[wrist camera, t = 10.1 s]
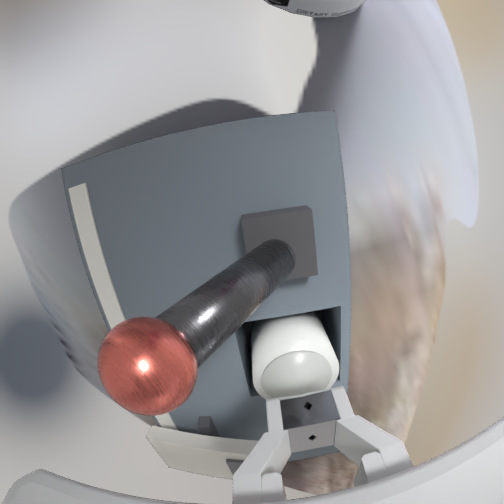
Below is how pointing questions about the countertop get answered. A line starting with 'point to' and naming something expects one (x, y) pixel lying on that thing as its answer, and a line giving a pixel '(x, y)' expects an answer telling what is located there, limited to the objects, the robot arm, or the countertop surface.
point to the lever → (187, 332)
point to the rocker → (200, 452)
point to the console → (219, 242)
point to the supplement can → (318, 7)
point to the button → (292, 356)
